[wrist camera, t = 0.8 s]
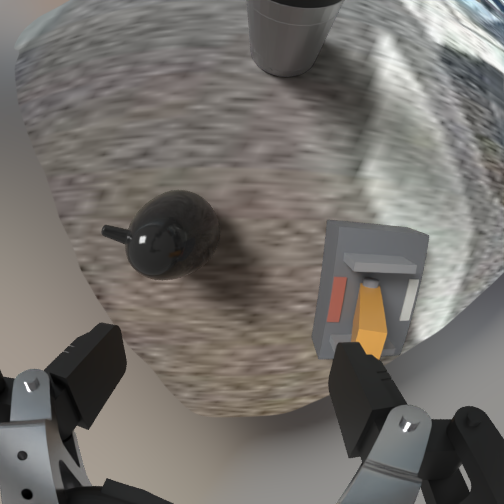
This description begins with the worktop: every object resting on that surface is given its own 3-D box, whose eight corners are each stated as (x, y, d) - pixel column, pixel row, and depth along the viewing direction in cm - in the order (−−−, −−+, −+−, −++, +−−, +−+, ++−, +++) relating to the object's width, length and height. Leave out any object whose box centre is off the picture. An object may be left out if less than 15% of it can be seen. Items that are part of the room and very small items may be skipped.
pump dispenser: (166, 177, 36) (110, 177, 21) (235, 206, 36) (219, 223, 22) (142, 244, 38) (84, 279, 23) (207, 274, 39) (178, 326, 24)
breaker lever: (361, 275, 32) (360, 321, 21) (380, 278, 31) (389, 325, 20) (352, 322, 34) (344, 381, 22) (370, 324, 33) (370, 385, 21)
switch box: (327, 219, 36) (350, 232, 27) (408, 227, 36) (446, 242, 27) (311, 336, 41) (323, 377, 31) (385, 335, 41) (410, 369, 31)
